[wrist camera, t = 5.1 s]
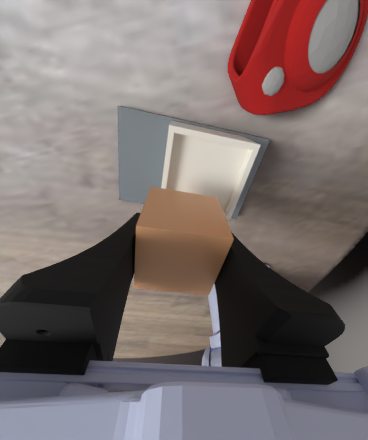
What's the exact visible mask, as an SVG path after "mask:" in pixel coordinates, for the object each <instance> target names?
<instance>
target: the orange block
mask: <svg viewBox="0 0 368 440" xmlns="http://www.w3.org/2000/svg"><path fill="white" fill-rule="evenodd" d="M233 240H234V238H233V235H232V233H231V230H230V228H229V225H228V223H227V220H226V218H225V215H224V213H223V210H222V208H221V205H220V203H219V200H218V198H217V197H213V196H207V195H200V194H194V193H188V192H182V191H176V190H169V189H163V188H157V187H151V188H150V190H149V193H148V196H147V198H146V201H145V203H144V206H143V209H142V211H141V214H140V217H139V219H138V222H137V225H136V242H135V274H134V288H140V289H150V290H161V291H171V292H182V293H192V294H202V295H209V294H210V292H211V290H212V287H213V285H214V283H215V281H216V278H217V276H218V274H219V272H220V269H221V267H222V265H223V263H224V260H225V258H226V256H227V254H228V251H229V249H230V247H231V245H232V242H233Z"/></svg>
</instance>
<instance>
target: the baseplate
mask: <svg viewBox="0 0 368 440" xmlns="http://www.w3.org/2000/svg"><path fill="white" fill-rule="evenodd" d="M172 121H176V122H180V123H185V124H189V125H194V126H199V127H203V128H208V129H212V130H217V131H221V132H226V133H230V134H235V135H239V136H243V137H245V138H247V139H250V140H252V141H254V142H256V143H258V144H260V145H261V146H260V148H259V150H258V153H257V155H256V158H255V160H254V163H253V165H252V168H251V170H250V173H249V175H248V177H247V180H246V182H245V185H244V187H243V190H242V192H241V195H240V197H239V199H238V202H237V204H236V207H235V209H234V212H233V214H232V217H231V218H235V219H236V218H237V216H238V214H239V211H240V209H241V207H242V204H243V202H244V200H245V197H246V195H247V193H248V190H249V188H250V186H251V183H252V181H253V179H254V176H255V174H256V172H257V170H258V167H259V165H260V163H261V160H262V158H263V156H264V153H265V151H266V149H267V146H268V144H269V142H270V140H269V139H267V138H262V137H258V136H253V135H249V134H244V133H240V132H235V131H231V130H226V129H222V128H217V127H213V126H208V125H204V124H199V123H195V122H190V121H186V120H181V119H177V118H172V117H168V116H163V115H159V114H154V113H150V112H145V111H141V110H136V109H132V108H127V107H123V106H118V155H119V200H123V201H130V202H136V203H142V204H144V203H145V201H146V198H147V196H148V193H149V190H150V188H151V187H157V188H161V185H162V177H163V169H164V161H165V153H166V145H167V137H168V130H169V124H170V123H171V122H172Z"/></svg>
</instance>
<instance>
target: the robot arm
mask: <svg viewBox="0 0 368 440" xmlns="http://www.w3.org/2000/svg"><path fill="white" fill-rule="evenodd" d="M140 214H141V213H136V214H135V215H134V216H133V217H132V218H131V219H130V220H129V221H127V222H126V223H125V224H124V225H123V226H122V227H120V228H119V229H118V230H117V231H115V232H114V233H113V234H111V235H110V236H109V237H107V238H106V239H104V240H103V241H101V242H100V243H98V244H96V245H95V246H93V247H91V248H89V249H87V250H85V251H83V252H81V253H79V254H77V255H75V256H73V257H71V258H68V259H66V260H64V261H61V262H59V263H56V264H54V265H51V266H49V267H46V268H43V269H40V270H37V271H34V272H31V273H28V274H25V275H23V276H21V277H20V278H19V279H18V280H17V281H16V282H15V283H14V284H13V285H12V286H11V287H10V288H9V290H8V291H7V292H6V293H5V294H4V295H3V296H2V297H1V298H0V332H1V334H2V335H3V336H4V337H5V338H6V340H5V342H4V343H3V344H2V346H1V347H0V440H368V367H364V368H361V369H359V370H357V371H355V372H354V373H342V372H333V370H332V368H331V367H330V365H329V363H328V361H327V360H326V358H328V357H329V354H328V352H327V350H326V349H325V347H324V346H326V345H327V344H329V343H330V342H332V341H333V340H335V339H336V338H338V337H339V336H340V335H341V334H342V333H343V332H344V329H345V324H344V323H343V321H342V320H341V319H340V317H339V316H338V315H337V313H336V312H335V310H334V309H333V308H332V306H331V305H330V304H328V303H326V302H324V301H322V300H320V299H318V298H317V297H315V296H313V295H311V294H309V293H307V292H306V291H304V290H302V289H301V288H299V287H297V286H296V285H294V284H292V283H291V282H289V281H288V280H286V279H284V278H283V277H282V276H280V275H279V274H277V273H276V272H274V271H273V270H272V269H270V267H269V265H266V264H264V263H263V262H262V261H260V260H259V259H258V258H257V257H256V256H255V255H253V254H252V253H251V252H250V251H249V250H248V249H247V248H246V247H245V246H244V245H243V244H242V243H241V242H240V241H239V240H238V239H237V238H236V237H235V236H234V234H233V233H232V232H231V233H232V235H233V238H234V240H233V242H232V245H231V247H230V249H229V251H228V254H227V256H226V258H225V260H224V263H223V265H222V267H221V269H220V272H219V274H218V276H217V278H216V281H215V283H214V285H213V287H212V290H211V292H210V294H209V295H208V298H209V305H210V312H211V320H212V327H213V334H214V336H211V337H210V344H211V346H209V347H207V348H206V350H205V353H204V356H203V359H202V366H197V365H176V364H154V363H133V362H114V361H112V360H113V356H114V351H115V347H116V342H117V338H118V333H119V329H120V325H121V320H122V316H123V312H124V308H125V304H126V300H127V296H128V292H129V288H130V284H131V281H132V278H133V275H134V273H135V242H136V225H137V222H138V219H139V217H140ZM107 390H134V391H128V392H115V393H114V392H113V393H108V392H107Z"/></svg>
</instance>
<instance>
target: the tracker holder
mask: <svg viewBox="0 0 368 440" xmlns="http://www.w3.org/2000/svg"><path fill="white" fill-rule="evenodd" d="M367 14H368V0H251V2H250V5H249V7H248V10H247V13H246V15H245V18H244V20H243V23H242V25H241V28H240V30H239V33H238V35H237V38H236V40H235V43H234V46H233V48H232V51H231V54H230V57H229V62H228V73H229V77H230V80H231V82H232V85H233V88H234V91H235V94H236V97H237V99H238V102H239V104H240V106H241V107H242V108H243V109H245V110H246V111H248V112H250V113H252V114H257V115H267V114H274V113H280V112H285V111H291V110H295V109H298V108H302V107H305V106H307V105H310V104H312V103H314V102H316V101H317V100H319V99H320V98H321V97H323V96H324V95H325V94H326V93H327V92H328V91H329V90H330V89H331V88H332V87H333V85H334V84H335V83H336V81H337V80H338V79H339V77H340V76H341V74H342V73H343V71H344V70H345V68H346V66H347V65H348V63H349V61H350V59H351V57H352V56H353V53H354V51H355V49H356V47H357V44H358V42H359V40H360V37H361V34H362V32H363V29H364V25H365V22H366V19H367Z"/></svg>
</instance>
